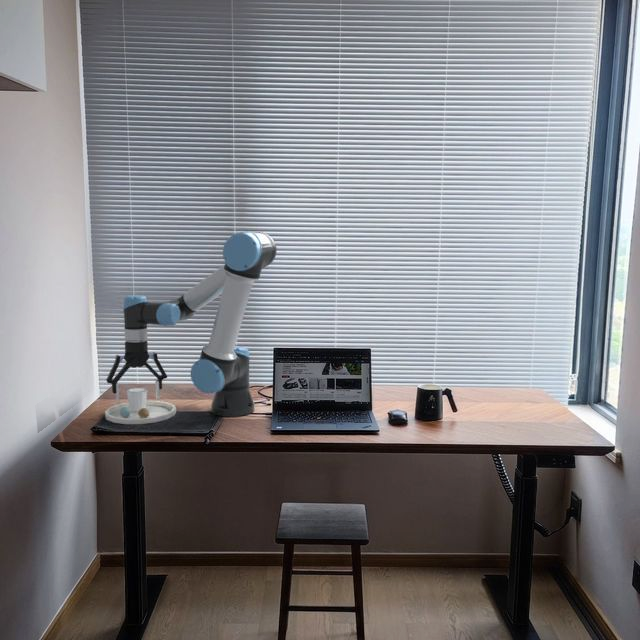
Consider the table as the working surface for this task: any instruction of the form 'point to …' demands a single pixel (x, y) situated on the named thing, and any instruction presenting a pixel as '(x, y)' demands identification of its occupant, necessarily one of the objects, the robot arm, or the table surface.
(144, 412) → the bead honey
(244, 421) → the table surface
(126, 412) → the bead teal
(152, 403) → the ring tray
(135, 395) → the shot glass
